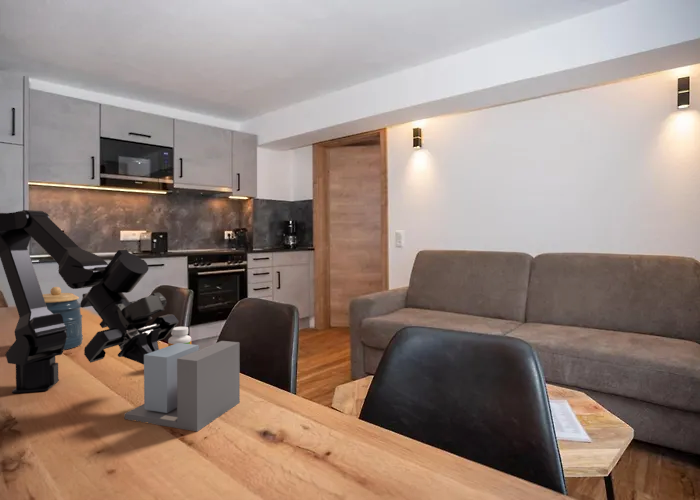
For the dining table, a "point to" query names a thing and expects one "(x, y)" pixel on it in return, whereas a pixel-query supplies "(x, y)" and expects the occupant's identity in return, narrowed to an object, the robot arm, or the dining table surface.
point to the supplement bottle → (179, 336)
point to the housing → (200, 388)
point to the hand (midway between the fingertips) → (160, 368)
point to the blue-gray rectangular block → (163, 376)
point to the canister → (67, 314)
